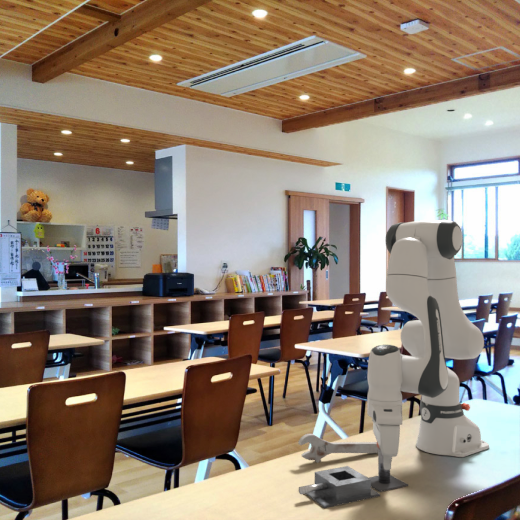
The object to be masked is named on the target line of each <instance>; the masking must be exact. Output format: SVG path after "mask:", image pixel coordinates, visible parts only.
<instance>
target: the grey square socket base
mask: <svg viewBox="0 0 520 520" xmlns="http://www.w3.org/2000/svg"><path fill="white" fill-rule="evenodd" d="M298 493H299V495H305V496H307V497H308V496H309V497H308V498H310V499H311V500H312V501H313V502H315V503H317V504H318V505H319V506H321V507H322V508H323V509H327V508H331V507H336V506H341V505H346V504H350V503H349V502H351V503H355V502H358V501H359V500H360V501H363V499H364V500H368V499H372V498H373V499H374V498H378V497H381V492H379V491H377V490H376V489H374V488H372V487H371V479H369V477H368V476H366V475H364V474H362V473H360V472H359V471H357V470H355V469H354V468H352V467H350V466H349V465H346V466H345V465H344V466H341V467H334V468H327V469H325V470H319V471H314V483H313V484H308V485H302V486H299V487H298ZM360 501H359V502H360Z"/></svg>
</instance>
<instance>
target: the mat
mask: <svg viewBox="0 0 520 520" xmlns="http://www.w3.org/2000/svg"><path fill="white" fill-rule="evenodd" d="M368 478H369V479H371V489H373V490H375V491H376V492H378V493H382V492H386V491H390V490H395V489H400V488H405V487H408V486H409V484H408V483H406V482H405V481H403V480H401V479H399V478H397V477H395V475H394V476H393V475H392V474H390V483H388V484H382V483H380V482H379V481H378V475H375V476H370V477H368Z"/></svg>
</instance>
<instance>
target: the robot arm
mask: <svg viewBox="0 0 520 520" xmlns="http://www.w3.org/2000/svg"><path fill="white" fill-rule="evenodd" d="M385 234H386V235H385V246H386V249H387V252H388V253H389V254H390V255H389V259H388V263H387V271H386V280H385V290H386V295H387V298H388V299H389V301H390V302H391V303H392V304H393V305H394V306H395V307H397V308H398V309H400V310H402V311H405V312H406V313H409V314H410V315H412V316H414V317H416V318H417V319H416V320H415V319H414V320H409V321H407V322H406V323H404V325H403V326H402V328H401V332H400V341H401V345H402V346H403V348H404V350H406V351H407V352H408V353H409V354H410V355H407V354H406V355H405V354H402V353H401V350H400V347H398V346H396V345H393V344H381V345H376V346H374V347H372V348H370V352H369V357H368V362H367V363H368V364H367V384H368V391H367V399H366V400H367V410H366V411H367V415H368V416H369V417H370V418H371V421H372V432H373V434H374V437H375V439H376V442H378V445H379V447H380V450H381V452H382V455H383V456H384V461H383V467H384V469H385V470H390V471H391V469H392V462H393V458H395V457H397V456H398V454H399V447H400V446H399V445H400V438H401V437H400V435H401V425H403V395H402V392H404V393H410V394H411V393H412V394H418V395H420V396H421V400H420V404H419V407H420V408H419V411H420V420H419V429H418V430H419V431H418V436H417V440H416V442H415V446H416V448H417V449H419V450H421V451H422V452H426V453H428V454H429V453H430V454H433V455H439V456H452V457H457V458H465V457H468V456H470V455H473V454H477V453H479V452H482V451H484V450H487V449H490V444H489V443H488V442H487V441H485V440H483V439H482V436H481V434H482V433H481V430H480V427H479V426H478V425H477V424H476V423H474V422H473V421H472V420H471V419H470V418H469V417H467V416H466V415H465V414H464V410H465V411H467V412H468V411H470V409H471V405H470V404H468V403H465V402H463V403H461V402H460V378H459V376H458V375H457V374H456V372H455V371H453V370H452V369H450V368H449V367H448V366H447V361H446V359H452V360H453V359H454V360H472V359H477V358H478V357H479V355H481V354H482V352H483V350H484V346H485V339H484V338H485V337H484V335H483V333H482V331H481V330H480V328H479V327H477V326H476V325H475V324H474V323H473V322H472V321H470V319H469V318H468V317H467V315H466V314H465V312H464V311H463V308H462V305H461V303H460V299H459V293H458V283H457V282H458V281H457V270H456V262H455V261H456V260H455V257H454V256H456V255H457V254H458V253H459V252H460V250H461V249H462V245H463V231H462V229H461V226H460V225H459V224H458V223H457V222H456V221H453V220H449V219H442V220H439V219H438V220H435V219H422V220H416V221H408V222H403V221H402V222H397V223H394V224H392V225H391V226H390V227H389V228H388V229H387V231H386V233H385Z"/></svg>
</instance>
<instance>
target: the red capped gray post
mask: <svg viewBox="0 0 520 520" xmlns="http://www.w3.org/2000/svg"><path fill="white" fill-rule="evenodd" d="M376 442H377V441H376ZM377 448H378V453H377V456H378V457H377V463H378V464H377V466H378V468H377V469H378V471H377V472H378V475H377V476H378V481H379V482H380V483H382V484H388V483H390V475H391V469H390V470H385V469H384V467H383V461H384V456H383V455H382V452H381V450H380V447H379V445H378V442H377Z"/></svg>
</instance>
